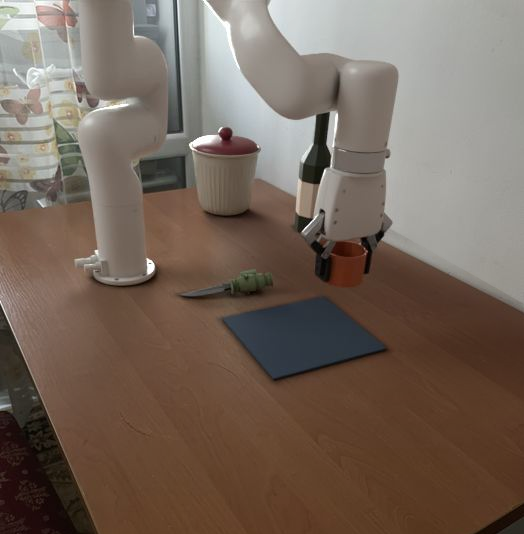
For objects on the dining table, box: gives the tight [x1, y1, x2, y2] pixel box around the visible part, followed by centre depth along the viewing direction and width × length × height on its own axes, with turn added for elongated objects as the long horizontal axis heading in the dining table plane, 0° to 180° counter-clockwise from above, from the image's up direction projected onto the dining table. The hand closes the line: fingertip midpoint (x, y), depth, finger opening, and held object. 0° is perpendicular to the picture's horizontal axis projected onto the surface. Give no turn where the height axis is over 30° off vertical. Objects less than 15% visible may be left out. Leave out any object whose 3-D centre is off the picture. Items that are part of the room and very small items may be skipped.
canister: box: [189, 126, 262, 216], centre depth 142 cm, size 18×18×21 cm
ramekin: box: [323, 240, 368, 289], centre depth 86 cm, size 7×7×5 cm
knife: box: [179, 268, 274, 298], centre depth 107 cm, size 4×18×5 cm
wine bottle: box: [293, 112, 332, 235], centre depth 131 cm, size 8×8×30 cm
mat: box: [221, 296, 387, 381], centre depth 97 cm, size 22×20×1 cm
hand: (341, 273), depth 87 cm, fingers closed on ramekin, 6 cm apart
